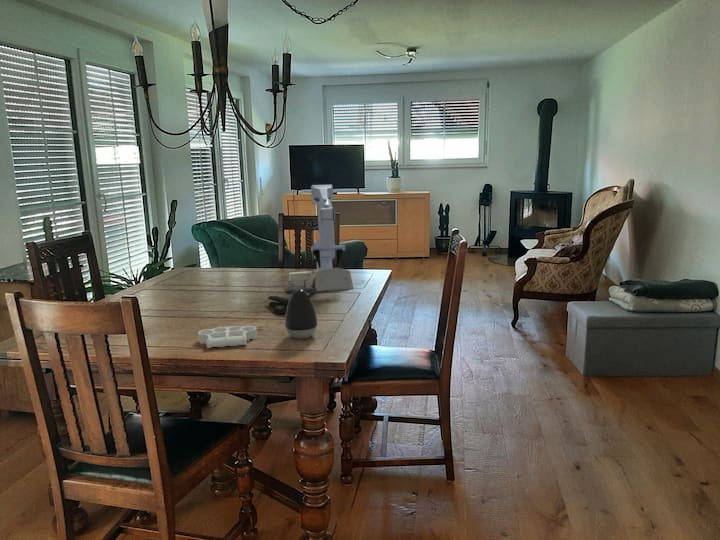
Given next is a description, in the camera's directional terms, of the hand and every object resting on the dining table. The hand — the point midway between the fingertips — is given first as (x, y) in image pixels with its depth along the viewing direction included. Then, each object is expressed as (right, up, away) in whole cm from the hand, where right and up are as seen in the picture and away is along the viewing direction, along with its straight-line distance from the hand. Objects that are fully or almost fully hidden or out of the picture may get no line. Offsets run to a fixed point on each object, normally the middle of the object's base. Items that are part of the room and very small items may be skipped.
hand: (328, 267), depth 234 cm
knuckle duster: (-28, -24, -63) cm, 73 cm away
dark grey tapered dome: (-5, -22, -61) cm, 65 cm away
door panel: (-13, -8, +12) cm, 20 cm away
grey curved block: (+2, -9, +5) cm, 11 cm away
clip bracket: (-13, -10, +3) cm, 16 cm away
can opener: (-17, -16, -27) cm, 36 cm away
